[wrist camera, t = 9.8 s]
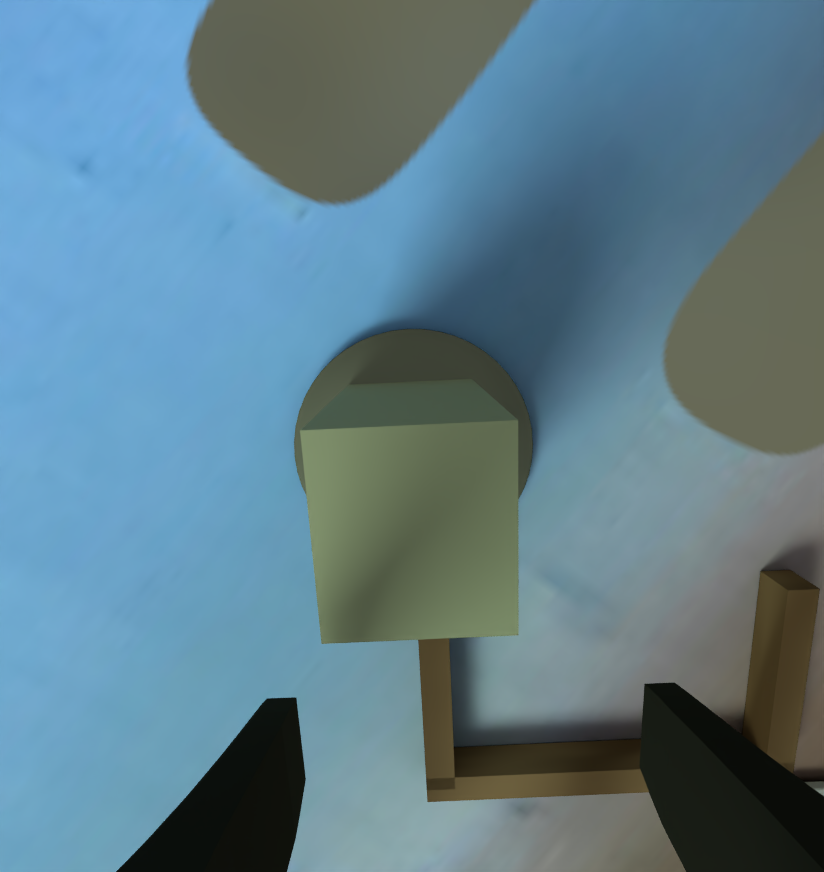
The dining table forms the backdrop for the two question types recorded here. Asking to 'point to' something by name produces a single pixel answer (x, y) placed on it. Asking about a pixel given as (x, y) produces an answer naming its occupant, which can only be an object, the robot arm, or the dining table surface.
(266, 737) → the robot arm
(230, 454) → the dining table surface
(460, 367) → the olive flat disc
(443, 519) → the block
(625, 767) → the brown u-shaped frame
